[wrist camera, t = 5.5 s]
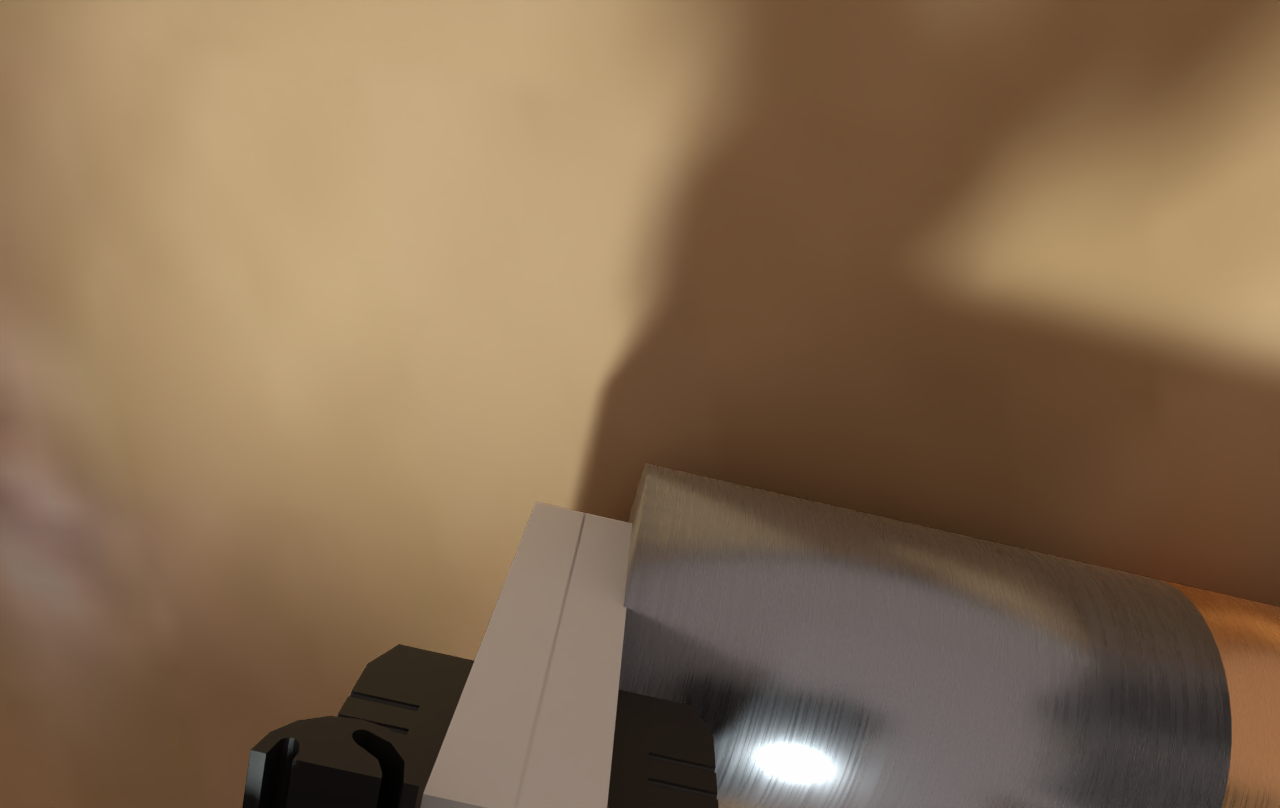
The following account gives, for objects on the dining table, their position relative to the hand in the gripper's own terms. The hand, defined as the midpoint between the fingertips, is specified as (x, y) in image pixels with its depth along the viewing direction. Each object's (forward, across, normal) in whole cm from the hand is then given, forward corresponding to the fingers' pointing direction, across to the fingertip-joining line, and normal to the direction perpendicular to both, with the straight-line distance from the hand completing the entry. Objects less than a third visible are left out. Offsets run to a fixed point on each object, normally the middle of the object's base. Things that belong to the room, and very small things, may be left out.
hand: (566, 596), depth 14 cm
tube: (+2, -10, 0) cm, 10 cm away
